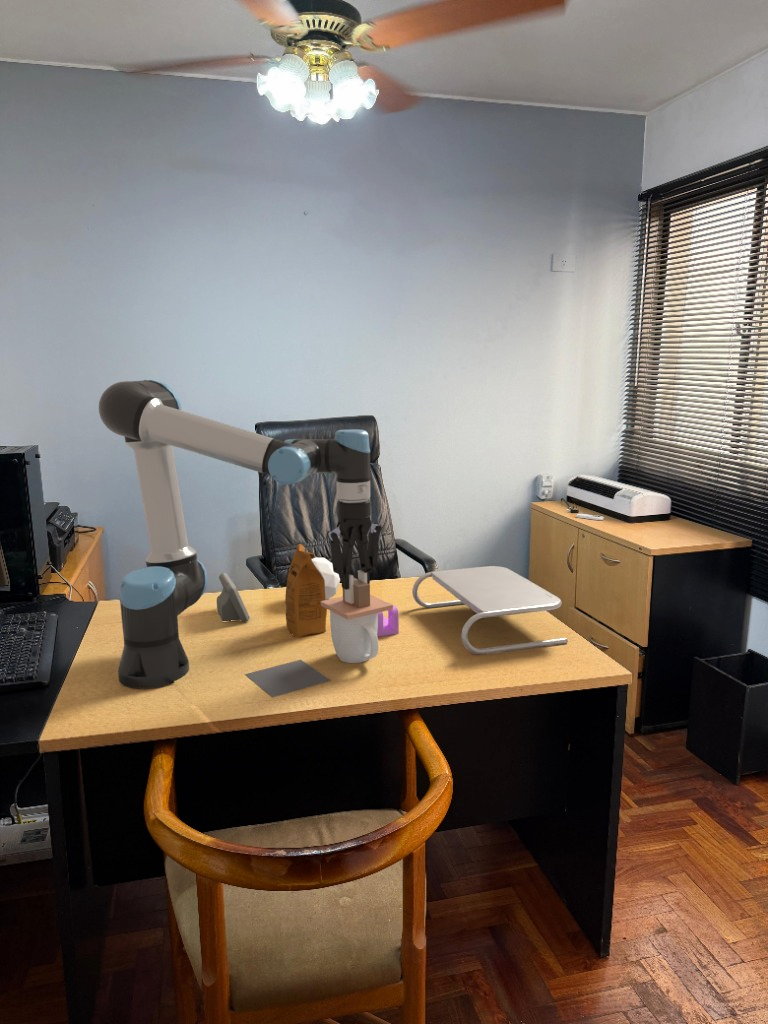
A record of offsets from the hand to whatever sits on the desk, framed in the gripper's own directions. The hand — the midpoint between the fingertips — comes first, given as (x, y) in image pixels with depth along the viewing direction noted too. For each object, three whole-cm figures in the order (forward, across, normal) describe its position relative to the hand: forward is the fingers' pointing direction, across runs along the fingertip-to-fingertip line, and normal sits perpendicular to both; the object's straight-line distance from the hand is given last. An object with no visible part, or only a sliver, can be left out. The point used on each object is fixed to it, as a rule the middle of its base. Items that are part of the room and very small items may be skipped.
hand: (356, 600), depth 165 cm
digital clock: (+15, -11, +47) cm, 50 cm away
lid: (+2, 0, 0) cm, 2 cm away
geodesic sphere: (+15, +14, +44) cm, 49 cm away
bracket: (+15, +17, +16) cm, 27 cm away
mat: (+15, -18, 0) cm, 23 cm away
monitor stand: (+15, +40, 0) cm, 43 cm away
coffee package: (+15, 0, +25) cm, 29 cm away
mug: (+15, 0, 0) cm, 15 cm away
